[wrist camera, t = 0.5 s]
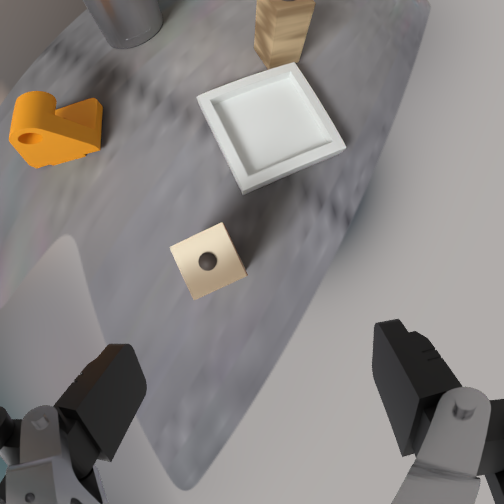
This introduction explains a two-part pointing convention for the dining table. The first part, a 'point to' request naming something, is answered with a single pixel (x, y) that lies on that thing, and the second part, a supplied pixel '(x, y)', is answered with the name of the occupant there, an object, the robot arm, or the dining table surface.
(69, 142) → the bracket
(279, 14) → the oak post
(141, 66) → the dining table surface
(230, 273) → the maple post
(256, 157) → the tray
